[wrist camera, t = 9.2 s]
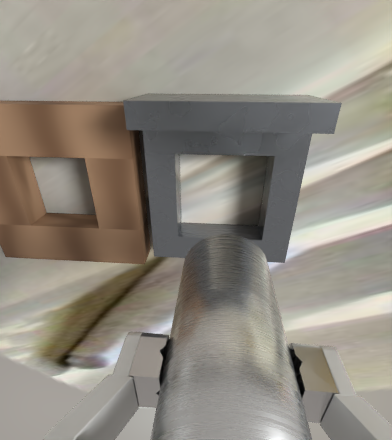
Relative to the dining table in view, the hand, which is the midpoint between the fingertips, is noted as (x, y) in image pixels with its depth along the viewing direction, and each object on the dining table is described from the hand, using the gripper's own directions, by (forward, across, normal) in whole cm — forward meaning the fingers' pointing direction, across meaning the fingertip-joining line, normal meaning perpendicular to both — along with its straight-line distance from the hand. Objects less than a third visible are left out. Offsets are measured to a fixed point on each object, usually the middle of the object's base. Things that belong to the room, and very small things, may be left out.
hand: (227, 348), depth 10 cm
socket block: (+16, +14, 0) cm, 21 cm away
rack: (+16, 0, 0) cm, 16 cm away
